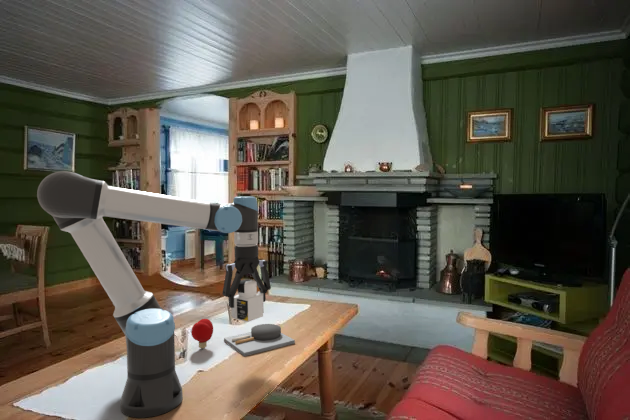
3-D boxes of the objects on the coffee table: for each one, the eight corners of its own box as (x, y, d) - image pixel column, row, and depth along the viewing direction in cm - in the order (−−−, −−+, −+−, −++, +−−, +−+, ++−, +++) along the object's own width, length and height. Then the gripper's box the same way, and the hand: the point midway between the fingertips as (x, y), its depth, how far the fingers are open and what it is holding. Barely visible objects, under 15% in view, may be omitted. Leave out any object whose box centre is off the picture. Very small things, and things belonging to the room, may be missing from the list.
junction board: (244, 356, 140) (244, 349, 140) (224, 341, 154) (223, 335, 154) (294, 343, 151) (294, 337, 151) (271, 330, 165) (271, 324, 165)
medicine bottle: (231, 318, 134) (231, 281, 133) (247, 312, 140) (247, 277, 139) (247, 322, 130) (247, 284, 129) (263, 316, 135) (262, 279, 135)
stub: (259, 342, 149) (259, 335, 149) (246, 334, 158) (246, 327, 158) (286, 336, 155) (286, 329, 155) (271, 328, 164) (271, 322, 164)
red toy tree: (205, 354, 141) (205, 325, 141) (186, 353, 143) (186, 324, 142) (217, 344, 150) (217, 317, 150) (199, 343, 152) (199, 316, 151)
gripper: (218, 249, 124) (220, 324, 125) (281, 243, 136) (282, 311, 137) (209, 246, 130) (211, 317, 132) (270, 240, 142) (271, 306, 144)
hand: (247, 314), depth 135 cm, fingers closed on medicine bottle, 9 cm apart
